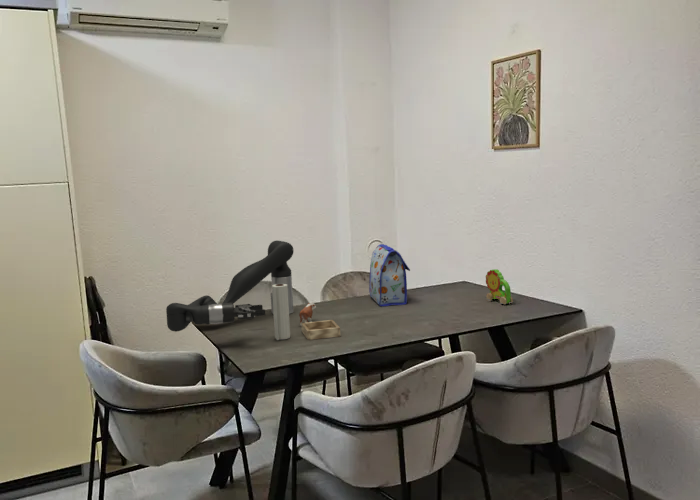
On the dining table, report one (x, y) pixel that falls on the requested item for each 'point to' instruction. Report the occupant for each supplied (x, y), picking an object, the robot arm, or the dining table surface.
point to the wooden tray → (320, 329)
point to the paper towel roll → (281, 311)
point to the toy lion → (498, 287)
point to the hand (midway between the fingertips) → (263, 309)
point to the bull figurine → (307, 313)
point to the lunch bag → (388, 277)
